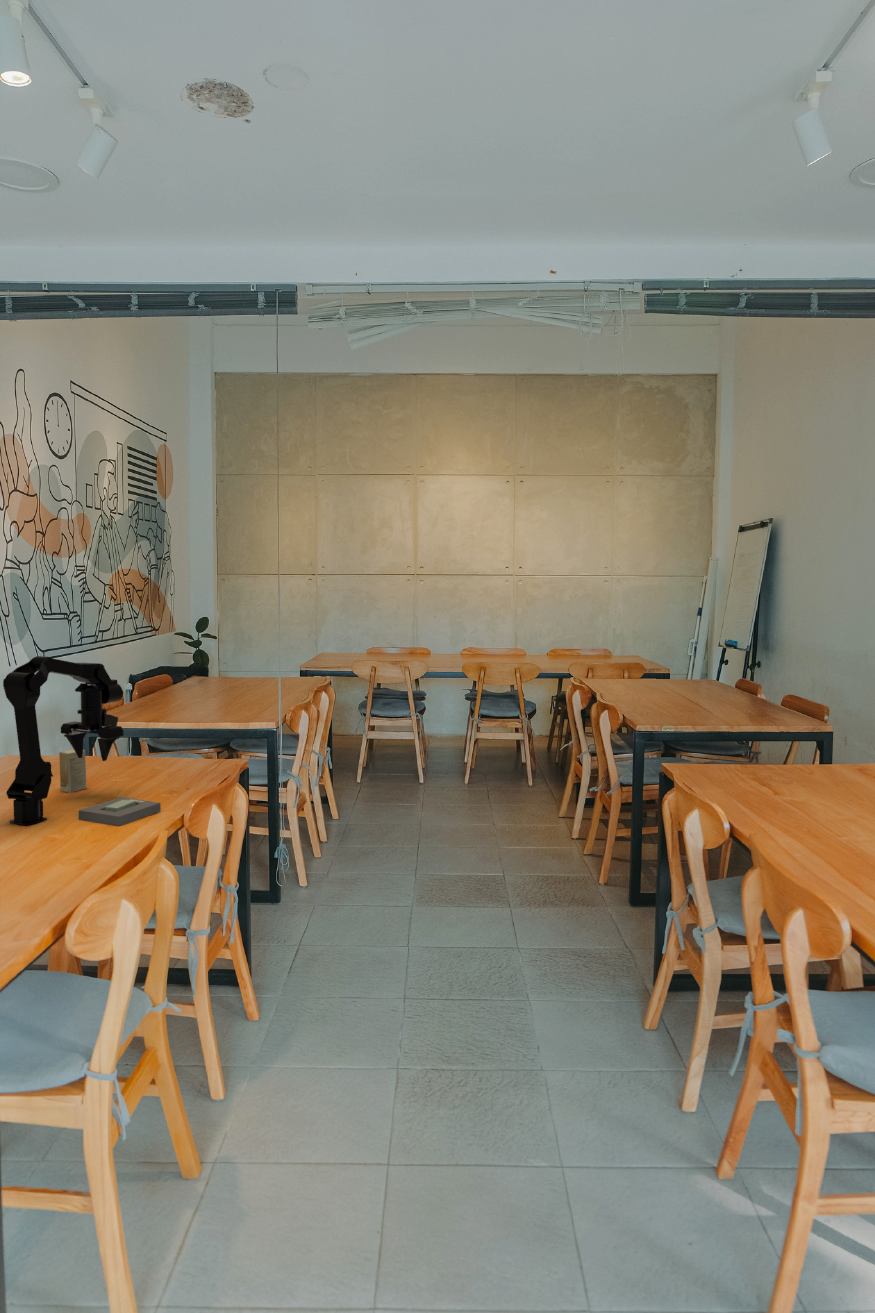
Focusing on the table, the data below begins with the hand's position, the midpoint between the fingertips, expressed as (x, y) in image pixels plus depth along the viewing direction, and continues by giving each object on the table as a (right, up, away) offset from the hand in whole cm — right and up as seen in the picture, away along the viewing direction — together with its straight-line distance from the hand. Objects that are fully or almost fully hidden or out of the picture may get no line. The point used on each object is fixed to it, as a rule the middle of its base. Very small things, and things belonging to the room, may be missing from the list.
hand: (92, 759), depth 235 cm
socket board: (+14, -14, -14) cm, 24 cm away
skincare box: (-11, -11, +12) cm, 20 cm away
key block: (+14, -14, -14) cm, 24 cm away
